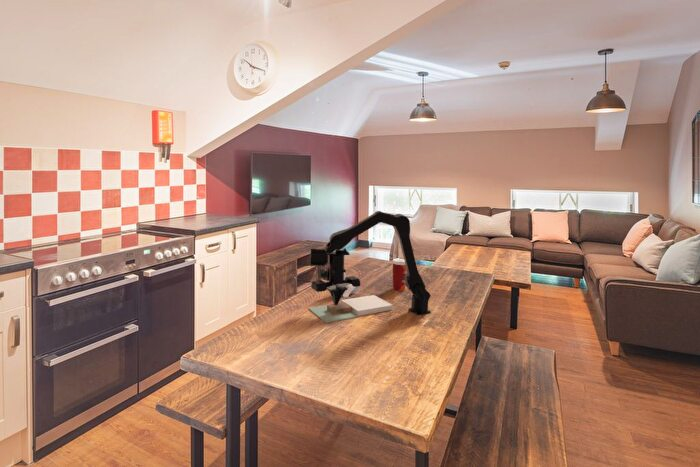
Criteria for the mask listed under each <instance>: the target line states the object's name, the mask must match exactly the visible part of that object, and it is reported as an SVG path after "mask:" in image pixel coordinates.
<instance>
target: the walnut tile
mask: <svg viewBox="0 0 700 467" xmlns="http://www.w3.org/2000/svg"><path fill="white" fill-rule="evenodd" d="M326 305H327V310H328V311H329V312H331V313H332V314H333V315H336V314H342V313H348V312H352V306H350V305H349V304H347V303H345V302H344V303H341V302H339V303H338V305H334V303H331V304H326Z"/></svg>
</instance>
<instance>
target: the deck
mask: <svg viewBox="0 0 700 467" xmlns="http://www.w3.org/2000/svg"><path fill="white" fill-rule="evenodd" d="M344 302H345V303H347V304H349V305H350V306H352V312H354V313H356V314H357V315H359V317H361V316H364V315H365V316H366V315H371V314H377V313H381V312H387V311H393V304H392V303H390V302H388V301H385V299H382V298H380V297H378V296H376V295H375V294H372V295H366V296H360V297H353V298H345V299H340V303H344Z"/></svg>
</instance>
